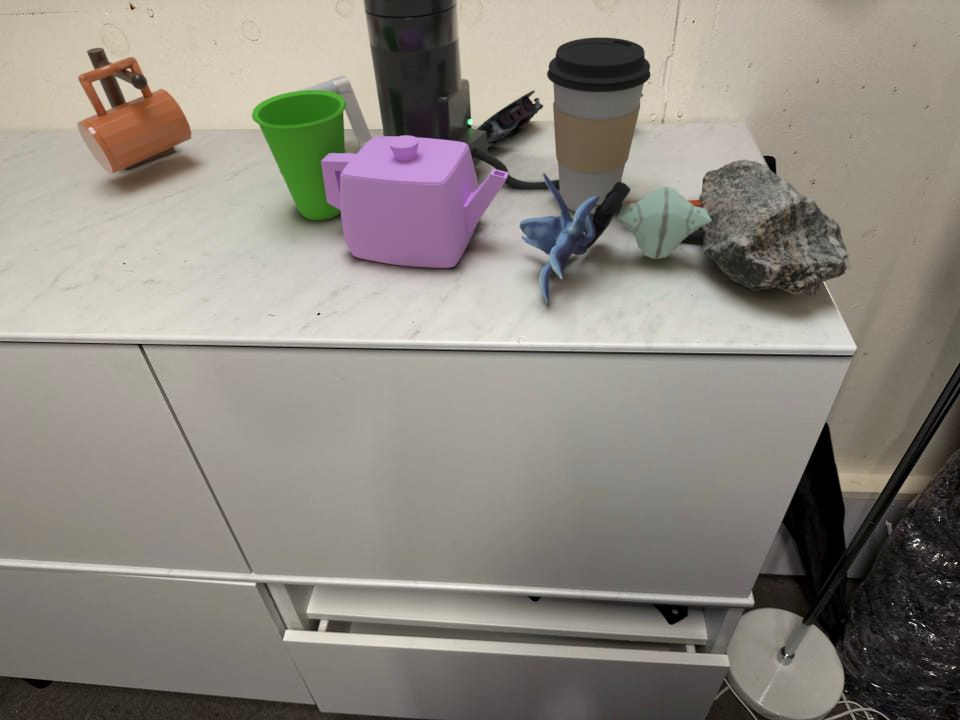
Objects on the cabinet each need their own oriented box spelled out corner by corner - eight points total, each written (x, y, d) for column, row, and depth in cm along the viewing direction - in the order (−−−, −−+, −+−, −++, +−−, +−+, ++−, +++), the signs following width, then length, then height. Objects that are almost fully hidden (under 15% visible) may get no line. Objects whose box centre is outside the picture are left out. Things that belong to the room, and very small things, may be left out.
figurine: (552, 322, 53) (481, 278, 56) (621, 250, 59) (554, 214, 62) (572, 239, 46) (489, 193, 48) (649, 166, 52) (572, 129, 54)
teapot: (519, 221, 64) (519, 122, 57) (494, 280, 56) (491, 175, 49) (358, 205, 68) (339, 111, 61) (315, 258, 60) (288, 158, 53)
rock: (892, 270, 51) (866, 199, 44) (795, 348, 53) (757, 292, 47) (749, 179, 64) (712, 114, 57) (676, 246, 66) (633, 190, 60)
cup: (378, 194, 69) (361, 93, 62) (340, 236, 63) (315, 129, 56) (308, 184, 72) (284, 86, 64) (264, 224, 65) (231, 120, 58)
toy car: (478, 122, 71) (494, 145, 72) (547, 75, 76) (562, 97, 76) (454, 152, 79) (468, 173, 80) (517, 108, 83) (531, 128, 84)
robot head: (611, 267, 57) (619, 200, 52) (610, 242, 60) (618, 177, 55) (701, 271, 56) (718, 203, 51) (696, 246, 59) (712, 179, 54)
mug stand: (104, 155, 80) (55, 52, 71) (152, 138, 83) (110, 38, 75) (154, 188, 73) (106, 77, 64) (205, 167, 76) (165, 60, 68)
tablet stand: (325, 181, 72) (308, 109, 66) (289, 161, 76) (271, 92, 71) (384, 156, 76) (373, 86, 70) (347, 139, 80) (334, 71, 75)
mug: (98, 165, 73) (174, 132, 78) (119, 180, 70) (198, 144, 75) (47, 77, 66) (134, 46, 71) (68, 89, 63) (159, 56, 68)
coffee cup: (642, 187, 68) (664, 39, 57) (618, 230, 61) (638, 73, 51) (560, 174, 71) (567, 31, 61) (530, 213, 65) (532, 61, 54)
